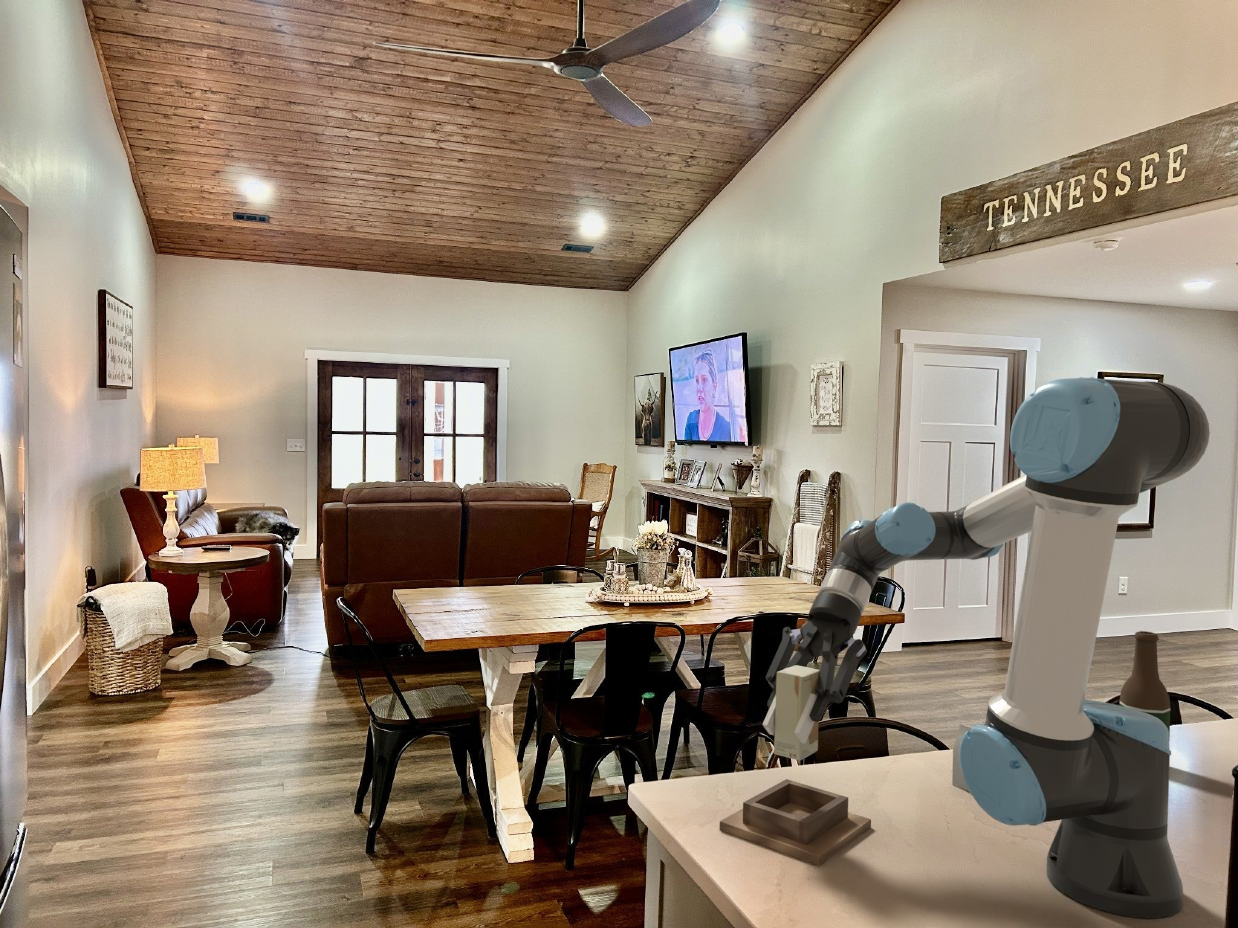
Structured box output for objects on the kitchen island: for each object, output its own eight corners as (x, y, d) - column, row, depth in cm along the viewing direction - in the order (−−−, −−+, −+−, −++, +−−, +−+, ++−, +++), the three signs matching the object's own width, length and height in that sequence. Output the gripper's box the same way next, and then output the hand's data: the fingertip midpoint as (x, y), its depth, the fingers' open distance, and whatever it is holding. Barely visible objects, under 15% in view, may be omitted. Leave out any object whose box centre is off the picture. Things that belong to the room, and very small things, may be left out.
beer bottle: (1168, 763, 156) (1171, 631, 155) (1169, 776, 149) (1172, 639, 149) (1118, 754, 160) (1122, 626, 160) (1117, 766, 153) (1120, 633, 153)
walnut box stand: (870, 827, 127) (871, 798, 126) (818, 865, 114) (819, 833, 114) (776, 797, 137) (776, 771, 137) (719, 829, 125) (720, 800, 125)
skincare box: (800, 762, 122) (802, 677, 122) (772, 755, 125) (774, 671, 125) (819, 750, 127) (821, 668, 127) (792, 743, 130) (794, 663, 130)
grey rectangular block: (988, 798, 138) (990, 737, 138) (952, 784, 144) (953, 725, 144) (1002, 794, 140) (1003, 733, 140) (965, 780, 146) (966, 722, 146)
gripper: (899, 627, 131) (848, 762, 119) (797, 611, 143) (741, 733, 131) (885, 597, 127) (831, 733, 115) (782, 583, 139) (722, 706, 127)
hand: (783, 733), depth 123 cm, fingers closed on skincare box, 4 cm apart
